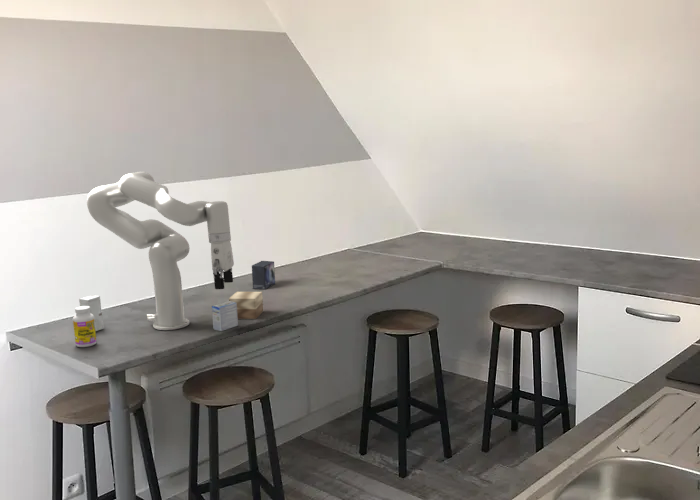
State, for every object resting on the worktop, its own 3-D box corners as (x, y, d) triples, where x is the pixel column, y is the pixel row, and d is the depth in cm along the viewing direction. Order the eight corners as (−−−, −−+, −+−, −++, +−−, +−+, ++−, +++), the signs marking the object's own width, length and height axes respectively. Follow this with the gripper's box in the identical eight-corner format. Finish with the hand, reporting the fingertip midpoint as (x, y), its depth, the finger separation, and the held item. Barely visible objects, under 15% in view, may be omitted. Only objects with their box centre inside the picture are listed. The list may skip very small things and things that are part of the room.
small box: (265, 289, 304) (264, 265, 302) (252, 289, 306) (250, 265, 304) (276, 284, 314) (274, 260, 312) (262, 283, 316) (261, 260, 314)
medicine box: (230, 323, 256) (228, 300, 254) (238, 325, 253) (236, 302, 251) (213, 329, 250) (211, 305, 248) (221, 331, 247) (219, 307, 245)
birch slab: (229, 309, 262) (228, 298, 261) (237, 301, 272) (236, 291, 271) (255, 309, 261) (255, 298, 260) (262, 301, 270) (262, 291, 270)
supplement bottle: (76, 349, 234) (72, 311, 231) (74, 343, 240) (70, 306, 237) (98, 345, 237) (93, 308, 234) (95, 340, 243) (91, 303, 240)
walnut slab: (230, 319, 262) (229, 309, 262) (237, 312, 272) (237, 302, 271) (256, 319, 261) (255, 309, 260) (263, 312, 271) (262, 302, 270)
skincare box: (90, 333, 251) (87, 300, 249) (81, 331, 253) (78, 298, 251) (104, 328, 256) (100, 295, 254) (95, 327, 258) (91, 294, 256)
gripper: (222, 241, 236) (226, 291, 239) (237, 232, 253) (241, 279, 256) (200, 242, 237) (205, 292, 241) (217, 233, 254) (221, 280, 257)
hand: (224, 285), depth 248 cm, fingers open, 9 cm apart
